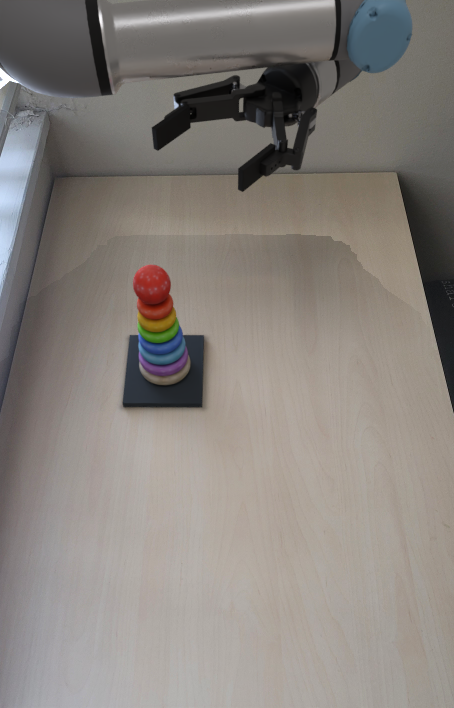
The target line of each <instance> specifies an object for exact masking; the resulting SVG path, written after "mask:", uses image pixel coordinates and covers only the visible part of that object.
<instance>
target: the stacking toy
mask: <svg viewBox="0 0 454 708" xmlns="http://www.w3.org/2000/svg"><path fill="white" fill-rule="evenodd" d="M171 283H172V282H171V278H170V276H169V274H168V272H167V270H165V269H164V268H163V267H161V266H160V265H157V264H146V265H143V266H142V267H140V268H139V269H137V271H136V272H135V273H134V276H133V279H132V288H133V292H134V293H135V295H136V297H137V300H136V309H137V315H136V320H137V326H136V327H137V332H138V333H137V335H138V339H139V361H140V362H139V368H140V371H141V373H142V375H143V376H144V378H145V379H147V380H148V381H150V382H151V383H154V384H158V385H171V384H175V383H177V382H179V381H180V380H182V379H183V378H184V377H185V376H186V375H187V373H188V372H189V369H190V364H191V363H190V357H189V355H188V350H187V347H186V346H185V339H184V337H183V335H184V332H183V329H182V327H181V325H180V321H179V319H178V317H177V310H176V309H175V307H174V299H173V296H172V295H171V294H170V293H171V289H172V285H171Z"/></svg>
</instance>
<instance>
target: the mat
mask: <svg viewBox="0 0 454 708" xmlns="http://www.w3.org/2000/svg"><path fill="white" fill-rule="evenodd" d="M183 337H184V339H185V346H186V347H187V350H188V355H189V357H190V363H191V364H190V369H189V372H188V373H187V375H186V376H185V377H184V378H183V379H182V380H180V381H179V382H177V383H175V384H171V385H158V384H154V383H151V382H150V381H148V380H147V379H145V378H144V376H143V375H142V373H141V371H140V368H139V362H140V361H139V339H138V334H129V338H128V348H127V357H126V367H125V375H124V376H125V377H124V384H123V385H124V386H123V393H122V395H123V396H122V407H123V408H203V398H204V397H203V395H204V394H203V393H204V391H203V389H204V358H205V355H204V354H205V335H204V334H183Z"/></svg>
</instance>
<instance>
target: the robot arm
mask: <svg viewBox="0 0 454 708" xmlns="http://www.w3.org/2000/svg"><path fill="white" fill-rule="evenodd" d="M412 36H413V18H412V15H411V12H410V10H409V7H408V4H407V1H406V0H134V1H126V2H124V1H123V2H115V3H112V2H110V1H109V0H0V89H2V88H3V87H4V86H5V85H7V83H9V82H14V83H17V84H20V85H21V86H23V87H24V88H27V89H28V90H30V91H32V92H34V93H37V94H41V95H45V96H48V97H55V98H66V99H81V98H82V99H83V98H97V97H106V96H114V95H117V94H118V92H119V91H120V89H121V88H122V86H123V85H124V84H131V83H138V82H149V81H158V80H165V79H166V80H168V79H177V78H186V77H193V76H202V75H203V76H204V75H212V74H220V73H229V72H239V71H248V70H257V69H264V70H263V72H262V74H261V75H260V77H259V78H258V80H257V82H255V83H253V84H249V85H245V84H242V83H241V76H240V75H237V74H234V75H231V76H230V77H227V78H226V79H224V80H220V81H217V82H212V83H209V84H205V85H201V86H197V87H193V88H189V89H185V90H181V91H177V92H174V93H173V94H172V95H173V110H171V111H170V112H168V113H167V114H166V115H164V117H163V119H161V120H160V121H158V122H157V123H155V125H153V126H152V127H151V135H152V136H151V137H152V145H153V150H155V151H157V152H159V151H160V150H162V149H163V148H164V147H165V146H168V145H169V144H170V143H172V142H173V141H175V140H176V139H177V138H179V137H180V136H181V135H183V134H184V133H185V132H187V131H189V130H190V129H191V128H192V125H191V124H194V123H195V124H196V123H202V122H213V121H220V120H228V119H233V121H234V122H245V121H248V122H250V123H254V124H256V125H258V126H259V127H261V128H263V129H265V128H270V130H271V138H272V139H273V143H272V142H270V143H269V144H268V145H266V146H265V147H264V148H263V149H261V150H260V151H259V152H257V153H256V154H255V155H253V156H252V157H251V158H250V159H248V160H247V161H246V162H244V163H243V164H242V165H241V166H240V167H238V168H237V170H238V171H237V190H238V191H239V192H241V193H244V192H245V191H246V190H247V189H248V188H250V187H251V186H253V184H255V183H256V182H257V181H259V180H260V179H261V178H262V177H265V178H267V177H269V176H271V175H272V174H273V173H275V172H276V171H277V170H278V169H280V168H285V167H286V166H290V168H291V170H293V171H299V170H301V168H302V165H303V161H304V157H305V153H306V148H307V146H308V145H307V144H308V141H309V137H310V136H311V135H312V134H313V132H314V131H315V130H316V124H317V123H316V122H317V116H318V109H317V107H318V106H320V105H321V104H323V102H326V100H327V99H329V98H330V97H331V96H333V95H334V94H335V93H336V92H338V91H339V90H341V89H342V88H343V87H344V86H347V84H349V83H351V82H352V81H354V80H355V79H356V78H359V76H360V75H361V73H362V72H364V73H367V74H379V73H383V72H385V71H388V70H389V69H391V68H392V67H393V66H395V65H396V64H397V63H398V62H399V61H400V60H401V59H402V58H403V57H404V55H405V53H406V51H407V50H408V48H409V45H410V43H411V38H412ZM241 99H242V111H240V100H241ZM296 124H297V130H296V133H295V134H296V135H295V139H294V143H293V146H292V148H291V147H288V146H289V139H287V131H286V127H292V126H294V125H296Z"/></svg>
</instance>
